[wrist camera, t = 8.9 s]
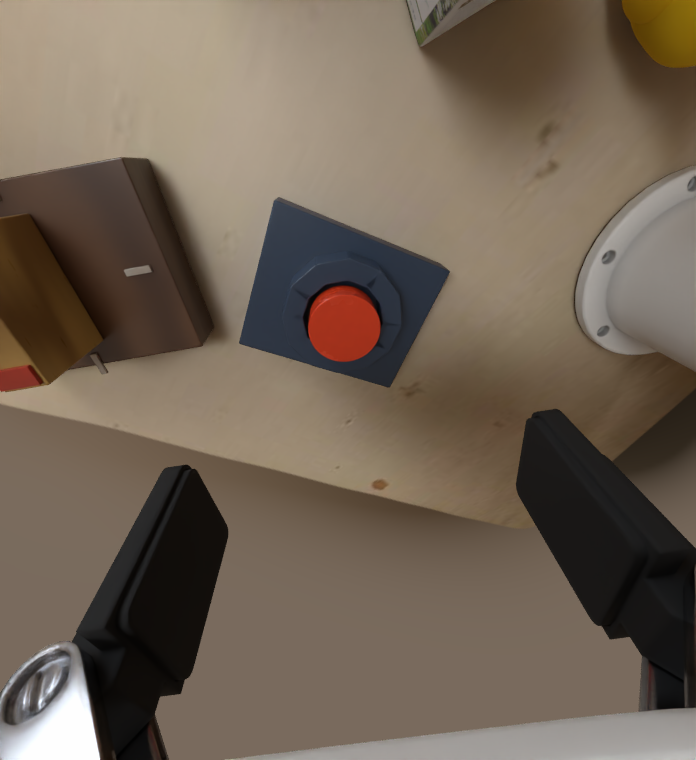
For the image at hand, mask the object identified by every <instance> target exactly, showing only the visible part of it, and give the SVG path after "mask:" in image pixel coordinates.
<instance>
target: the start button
mask: <svg viewBox="0 0 696 760" xmlns="http://www.w3.org/2000/svg"><path fill="white" fill-rule="evenodd" d="M380 329H381V326H380V319H379V316H378V313H377V311H376V309H375V306H374V304H373V302H372V300H371V299H370V297H369V296H368V295H367V294H366V293H364V292H363V291H362V290H360V289H358V288H356V287H352V286H347V285H340V286H334V287H331V288H329V289H327V290H325V291H323V292H322V293H321V294H320V295H318V296H317V298H316V299H315V300H314V302H313V304H312V306H311V308H310V312H309V324H308V333H309V337H310V341H311V343H312V345H313V346H314V348H315V349H316V350H317V351H318V352H319V353H320V354H321V355H323V356H324V357H326V358H328V359H331V360H334V361H339V362H348V361H353V360H356V359H359V358H361V357H363V356H365V355H366V354H367V353H369V352H370V351H371V350H372V349H373V347H374V346H375V344H376V343H377V341H378V338H379V335H380Z"/></svg>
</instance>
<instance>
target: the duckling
mask: <svg viewBox="0 0 696 760" xmlns="http://www.w3.org/2000/svg"><path fill="white" fill-rule="evenodd" d="M622 7H623V10H624V13H625V15H626V17H627V18H628V19H629V20H630V23H631V27H632V30H633V32H634V34H635V36H636V38H637V40H638V41H639V43H640V44H641V46H642V47H643V48H644V50H645V51H646V52H647V53H648V55H649V56H650V57H651V58H652V59H653V60H654V61H656V62H657V63H659V64H661V65H663V66H666V67H671V68H684V67H691V66H696V0H622Z"/></svg>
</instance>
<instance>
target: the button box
mask: <svg viewBox="0 0 696 760" xmlns="http://www.w3.org/2000/svg"><path fill="white" fill-rule="evenodd" d="M449 273H450V271H449V270H448V269H446V268H445V267H444V266H443V265H441V264H440V263H438V262H435V261H433V260H430V259H428V258H425V257H423V256H421V255H418V254H416V253H413V252H411V251H408V250H406V249H404V248H401V247H399V246H396V245H394V244H391V243H389V242H387V241H384V240H382V239H379V238H377V237H374V236H372V235H369V234H367V233H365V232H362V231H360V230H357V229H355V228H352V227H350V226H348V225H345V224H343V223H340V222H338V221H335V220H333V219H330V218H328V217H326V216H323V215H321V214H318V213H316V212H313V211H311V210H309V209H306V208H304V207H301V206H299V205H296V204H294V203H292V202H289V201H287V200H284V199H282V198H277V199H276V200H275V201H274V203H273V207H272V211H271V215H270V219H269V223H268V227H267V231H266V236H265V240H264V244H263V248H262V252H261V256H260V260H259V264H258V268H257V272H256V276H255V280H254V284H253V288H252V292H251V296H250V300H249V305H248V309H247V313H246V317H245V321H244V325H243V329H242V333H241V337H240V341H239V343H240V344H242V345H245V346H249V347H252V348H256V349H259V350H262V351H266V352H269V353H273V354H276V355H279V356H283V357H286V358H290V359H293V360H296V361H300V362H303V363H307V364H310V365H312V366H315V367H319V368H322V369H326V370H329V371H333V372H336V373H341V374H344V375H348V376H351V377H354V378H358V379H361V380H365V381H368V382H372V383H375V384H378V385H382V386H385V387H390V386H391V384H392V382H393V380H394V378H395V376H396V374H397V372H398V370H399V368H400V367H401V365H402V363H403V361H404V359H405V357H406V355H407V353H408V351H409V349H410V347H411V346H412V344H413V342H414V340H415V338H416V336H417V334H418V332H419V330H420V328H421V326H422V324H423V323H424V321H425V319H426V317H427V315H428V313H429V311H430V309H431V307H432V305H433V303H434V302H435V300H436V298H437V296H438V294H439V292H440V290H441V288H442V286H443V284H444V282H445V280H446V279H447V277H448V275H449ZM340 285H347V286H352V287H356V288H358V289H360V290H362V291H363V292H364V293H366V294H367V295H368V296H369V297H370V299H371V300H372V302H373V304H374V306H375V309H376V311H377V313H378V316H379V319H380V326H381V329H380V335H379V338H378V341H377V343H376V344H375V346H374V347H373V349H372V350H371V351H370V352H369V353H367V354H366V355H365V356H363V357H361V358H359V359H356V360H353V361H348V362H339V361H334V360H331V359H328V358H326V357H324V356H323V355H321V354H320V353H319V352H318V351H317V350H316V349H315V348H314V346H313V345H312V343H311V341H310V337H309V333H308V324H309V312H310V308H311V306H312V304H313V302H314V300H315V299H316V298H317V296H318V295H320V294H321V293H322V292H323V291H325V290H327V289H329V288H331V287H334V286H340Z"/></svg>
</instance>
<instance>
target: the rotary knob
mask: <svg viewBox="0 0 696 760" xmlns="http://www.w3.org/2000/svg"><path fill="white" fill-rule="evenodd" d="M102 341H103V338H102V336H101V335H100V333H99V331H98V330H97V328H96V326H95V324H94V323H93V321H92V319H91V318H90V316H89V314H88V313H87V311H86V309H85V308H84V306H83V304H82V303H81V301H80V299H79V297H78V296H77V294H76V292H75V291H74V289H73V287H72V286H71V284H70V282H69V281H68V279H67V277H66V275H65V274H64V272H63V270H62V269H61V267H60V265H59V264H58V262H57V260H56V259H55V257H54V255H53V254H52V252H51V250H50V248H49V247H48V245H47V243H46V242H45V240H44V238H43V237H42V235H41V233H40V232H39V230H38V228H37V226H36V225H35V223H34V221H33V220H32V218H31V216H30V215H29V214H27V213H25V214H19V215H13V216H6V217H0V391H1V392H2V391H5V392H10V391H16V390H21V389H27V388H33V387H39V386H44V385H49V384H51V383H52V382H53V381H54V380H55V379H57V378H58V377H59V376H60V375H62V374H63V373H64V372H65V371H67V370H68V369H69V368H70V367H71V366H73V365H74V364H75V363H76V362H78V361H79V360H80V359H81V358H83V357H84V356H85V355H86V354H87V353H89V352H90V351H91V350H92V349H94V348H95V347H96V346H97V345H99V344H100V343H101V342H102Z"/></svg>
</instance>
